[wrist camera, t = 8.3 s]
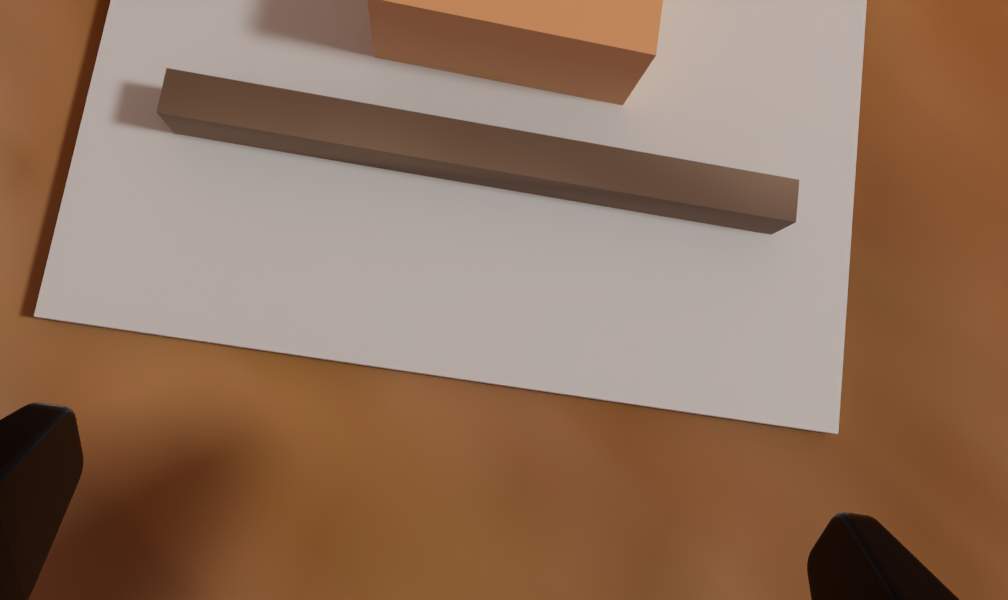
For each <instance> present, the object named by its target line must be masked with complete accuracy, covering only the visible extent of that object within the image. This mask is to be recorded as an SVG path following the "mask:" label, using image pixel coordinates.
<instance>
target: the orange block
mask: <svg viewBox="0 0 1008 600" xmlns="http://www.w3.org/2000/svg"><path fill="white" fill-rule="evenodd" d="M367 1H368V10H369V18H370V26H371V35H372V43H373V51H374V57H376V58H381V59H387V60H392V61H397V62H402V63H407V64H412V65H417V66H423V67H428V68H433V69H438V70H443V71H448V72H453V73H459V74H464V75H469V76H474V77H479V78H484V79H490V80H495V81H500V82H505V83H510V84H515V85H520V86H526V87H531V88H536V89H541V90H546V91H551V92H556V93H562V94H567V95H572V96H577V97H582V98H587V99H592V100H598V101H603V102H608V103H613V104H618V105H623V104H624V103H625V101H626V100H627V98H628V97H629V95H630V94H631V92H632V91H633V89H634V88H635V86H636V85H637V83H638V82H639V80H640V79H641V77H642V76H643V74H644V73H645V71H646V70H647V68H648V67H649V65H650V64H651V62H652V61H653V59H654V58H655V56H656V52H657V44H658V36H659V29H660V21H661V13H662V5H663V0H367Z"/></svg>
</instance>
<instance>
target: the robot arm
mask: <svg viewBox="0 0 1008 600" xmlns="http://www.w3.org/2000/svg"><path fill="white" fill-rule="evenodd" d="M82 469H83V452H82V447H81V442H80V437H79V431H78V426H77V421H76V417H75V414H74V412H73V411H72V409H71V408H69V407H66V406H60V405H53V404H46V403H31V404H28V405H26V406H24V407H22V408H20V409H18V410H17V411H15V412H13V413H12V414H10V415H8V416H6V417H5V418H3V419H1V420H0V600H28V599H29V597H30V595H31V593H32V590H33V588H34V586H35V584H36V581H37V579H38V577H39V574H40V572H41V570H42V567H43V565H44V562H45V560H46V558H47V555H48V553H49V551H50V548H51V546H52V543H53V541H54V539H55V536H56V534H57V532H58V529H59V527H60V524H61V522H62V520H63V517H64V515H65V513H66V510H67V508H68V505H69V503H70V501H71V498H72V496H73V494H74V491H75V489H76V486H77V484H78V482H79V479H80V477H81V473H82ZM807 571H808V579H809V585H810V592H811V598H812V600H959V599H958V598H957V597H956V596H955V595H954V594H953V593H952V592H951V591H950V590H949V589H948V588H947V587H946V586H945V585H944V584H943V583H942V582H941V581H940V580H938V579H937V578H936V577H935V576H934V575H933V574H932V573H931V572H930V571H929V570H928V569H927V568H926V567H925V566H924V565H923V564H922V563H921V562H920V561H919V560H918V559H917V558H916V557H915V556H914V555H913V554H911V553H910V552H909V551H908V550H907V549H906V548H905V547H904V546H903V545H902V544H901V543H900V542H899V541H898V540H897V539H896V538H895V537H894V536H893V535H892V534H891V533H890V532H889V531H888V530H887V529H886V528H885V527H883V526H882V525H881V524H880V523H879V522H878V521H877V520H876V519H874V518H873V517H870V516H867V515H860V514H853V513H846V512H841V513H838V514H836V515H835V516H833V518H832V519H831V520H830V522H829V524H828V525H827V527H826V528H825V530H824V531H823V533H822V534H821V536H820V537H819V539H818V541H817V542H816V544H815V545H814V547H813V548H812V550H811V552H810V555H809V558H808V563H807Z"/></svg>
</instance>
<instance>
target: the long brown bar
mask: <svg viewBox="0 0 1008 600" xmlns="http://www.w3.org/2000/svg"><path fill="white" fill-rule="evenodd" d="M156 113H157V114H158V115H159V116H160V117H161V118H162V120H163V121H164V122H165V123H166V124H167V125H168V127H169V128H170V129H171V130H172V131H173V132H174V133H175V134H180V135H186V136H192V137H198V138H204V139H210V140H216V141H222V142H228V143H234V144H239V145H245V146H251V147H257V148H263V149H269V150H275V151H281V152H287V153H293V154H298V155H304V156H310V157H316V158H322V159H328V160H334V161H340V162H346V163H352V164H358V165H363V166H369V167H375V168H381V169H387V170H393V171H399V172H405V173H411V174H417V175H422V176H428V177H434V178H440V179H446V180H452V181H458V182H464V183H470V184H476V185H481V186H487V187H493V188H499V189H505V190H511V191H517V192H523V193H529V194H535V195H540V196H546V197H552V198H558V199H564V200H570V201H576V202H582V203H588V204H594V205H599V206H605V207H611V208H617V209H623V210H629V211H635V212H641V213H647V214H653V215H659V216H664V217H670V218H676V219H682V220H688V221H694V222H700V223H706V224H712V225H718V226H723V227H729V228H735V229H741V230H747V231H753V232H759V233H765V234H771V235H772V234H774V233H776V232H778V231H780V230H782V229H784V228H786V227H788V226H790V225H791V224H793V223H795V222H796V216H797V204H798V191H799V180H798V179H792V178H787V177H781V176H775V175H770V174H764V173H758V172H753V171H747V170H741V169H736V168H730V167H724V166H719V165H713V164H707V163H702V162H696V161H690V160H685V159H679V158H673V157H668V156H662V155H656V154H651V153H645V152H639V151H634V150H628V149H622V148H617V147H611V146H605V145H600V144H594V143H588V142H583V141H577V140H571V139H566V138H560V137H555V136H549V135H543V134H538V133H532V132H526V131H521V130H515V129H509V128H504V127H498V126H492V125H487V124H481V123H475V122H470V121H464V120H458V119H453V118H447V117H441V116H436V115H430V114H424V113H419V112H413V111H407V110H402V109H396V108H390V107H385V106H379V105H373V104H368V103H362V102H356V101H351V100H345V99H339V98H334V97H328V96H323V95H317V94H311V93H306V92H300V91H294V90H289V89H283V88H277V87H272V86H266V85H260V84H255V83H249V82H243V81H238V80H232V79H226V78H221V77H215V76H209V75H204V74H198V73H192V72H187V71H181V70H175V69H170V68H166V72H165V77H164V81H163V86H162V90H161V94H160V99H159V103H158V108H157V112H156Z"/></svg>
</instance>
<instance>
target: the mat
mask: <svg viewBox="0 0 1008 600" xmlns="http://www.w3.org/2000/svg"><path fill="white" fill-rule="evenodd" d="M866 4H867V0H663V5H662V13H661V21H660V29H659V36H658V44H657V52H656V56H655V58H654V59H653V61H652V62H651V64H650V65H649V67H648V68H647V70H646V71H645V73H644V74H643V76H642V77H641V79H640V80H639V82H638V83H637V85H636V86H635V88H634V89H633V91H632V92H631V94H630V95H629V97H628V98H627V100H626V101H625V103H624V104H623V105H618V104H613V103H608V102H603V101H598V100H592V99H587V98H582V97H577V96H572V95H567V94H562V93H556V92H551V91H546V90H541V89H536V88H531V87H526V86H520V85H515V84H510V83H505V82H500V81H495V80H490V79H484V78H479V77H474V76H469V75H464V74H459V73H453V72H448V71H443V70H438V69H433V68H428V67H423V66H417V65H412V64H407V63H402V62H397V61H392V60H387V59H381V58H376V57H374V51H373V43H372V35H371V26H370V18H369V10H368V1H367V0H111V1H110V5H109V9H108V13H107V17H106V22H105V26H104V30H103V34H102V38H101V42H100V46H99V50H98V54H97V58H96V63H95V67H94V71H93V75H92V79H91V83H90V87H89V91H88V95H87V99H86V104H85V108H84V112H83V116H82V120H81V124H80V128H79V132H78V136H77V140H76V145H75V149H74V153H73V157H72V161H71V165H70V169H69V173H68V177H67V181H66V186H65V190H64V194H63V198H62V202H61V206H60V210H59V214H58V218H57V222H56V227H55V231H54V235H53V239H52V243H51V247H50V251H49V255H48V259H47V263H46V268H45V272H44V276H43V280H42V284H41V288H40V292H39V296H38V300H37V304H36V309H35V313H34V317H38V318H42V319H48V320H55V321H62V322H69V323H76V324H82V325H89V326H96V327H103V328H110V329H117V330H123V331H130V332H137V333H144V334H151V335H158V336H164V337H171V338H178V339H185V340H192V341H199V342H206V343H212V344H219V345H226V346H233V347H240V348H247V349H253V350H260V351H267V352H274V353H281V354H288V355H294V356H301V357H308V358H315V359H322V360H329V361H335V362H342V363H349V364H356V365H363V366H370V367H377V368H383V369H390V370H397V371H404V372H411V373H418V374H424V375H431V376H438V377H445V378H452V379H459V380H465V381H472V382H479V383H486V384H493V385H500V386H507V387H513V388H520V389H527V390H534V391H541V392H548V393H554V394H561V395H568V396H575V397H582V398H589V399H595V400H602V401H609V402H616V403H623V404H630V405H636V406H643V407H650V408H657V409H664V410H671V411H678V412H684V413H691V414H698V415H705V416H712V417H719V418H725V419H732V420H739V421H746V422H753V423H760V424H766V425H773V426H780V427H787V428H794V429H801V430H807V431H814V432H821V433H828V434H838V430H839V415H840V399H841V384H842V369H843V354H844V338H845V323H846V308H847V293H848V278H849V262H850V247H851V232H852V217H853V202H854V186H855V171H856V156H857V141H858V126H859V110H860V95H861V80H862V65H863V50H864V34H865V19H866ZM166 68H170V69H175V70H181V71H187V72H192V73H198V74H204V75H209V76H215V77H221V78H226V79H232V80H238V81H243V82H249V83H255V84H260V85H266V86H272V87H277V88H283V89H289V90H294V91H300V92H306V93H311V94H317V95H323V96H328V97H334V98H339V99H345V100H351V101H356V102H362V103H368V104H373V105H379V106H385V107H390V108H396V109H402V110H407V111H413V112H419V113H424V114H430V115H436V116H441V117H447V118H453V119H458V120H464V121H470V122H475V123H481V124H487V125H492V126H498V127H504V128H509V129H515V130H521V131H526V132H532V133H538V134H543V135H549V136H555V137H560V138H566V139H571V140H577V141H583V142H588V143H594V144H600V145H605V146H611V147H617V148H622V149H628V150H634V151H639V152H645V153H651V154H656V155H662V156H668V157H673V158H679V159H685V160H690V161H696V162H702V163H707V164H713V165H719V166H724V167H730V168H736V169H741V170H747V171H753V172H758V173H764V174H770V175H775V176H781V177H787V178H792V179H798V180H799V191H798V204H797V216H796V222H795V223H793V224H791V225H790V226H788V227H786V228H784V229H782V230H780V231H778V232H776V233H774V234H772V235H771V234H765V233H759V232H753V231H747V230H741V229H735V228H729V227H723V226H718V225H712V224H706V223H700V222H694V221H688V220H682V219H676V218H670V217H664V216H659V215H653V214H647V213H641V212H635V211H629V210H623V209H617V208H611V207H605V206H599V205H594V204H588V203H582V202H576V201H570V200H564V199H558V198H552V197H546V196H540V195H535V194H529V193H523V192H517V191H511V190H505V189H499V188H493V187H487V186H481V185H476V184H470V183H464V182H458V181H452V180H446V179H440V178H434V177H428V176H422V175H417V174H411V173H405V172H399V171H393V170H387V169H381V168H375V167H369V166H363V165H358V164H352V163H346V162H340V161H334V160H328V159H322V158H316V157H310V156H304V155H298V154H293V153H287V152H281V151H275V150H269V149H263V148H257V147H251V146H245V145H239V144H234V143H228V142H222V141H216V140H210V139H204V138H198V137H192V136H186V135H180V134H175V133H174V132H173V131H172V130H171V129H170V128H169V127H168V125H167V124H166V123H165V122H164V121H163V120H162V118H161V117H160V116H159V115H158V114H157V113H156V112H157V108H158V103H159V99H160V94H161V90H162V86H163V81H164V77H165V72H166Z"/></svg>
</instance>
